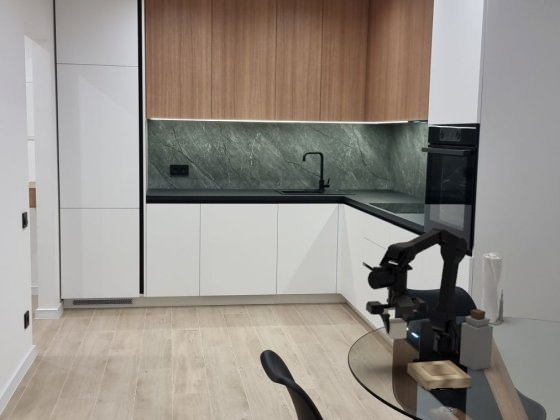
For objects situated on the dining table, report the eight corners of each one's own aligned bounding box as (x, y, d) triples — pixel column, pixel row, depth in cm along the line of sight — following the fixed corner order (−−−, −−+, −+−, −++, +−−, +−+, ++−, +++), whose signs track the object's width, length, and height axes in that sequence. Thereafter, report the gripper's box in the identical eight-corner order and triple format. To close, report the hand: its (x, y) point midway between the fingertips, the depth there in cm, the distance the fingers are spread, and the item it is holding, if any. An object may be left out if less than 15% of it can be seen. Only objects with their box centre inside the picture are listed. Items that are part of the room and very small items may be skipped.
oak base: (449, 369, 214) (449, 359, 213) (470, 387, 200) (470, 376, 200) (407, 372, 211) (407, 362, 211) (426, 390, 197) (426, 380, 197)
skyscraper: (497, 326, 258) (501, 254, 254) (476, 322, 262) (480, 251, 258) (503, 320, 265) (507, 250, 261) (482, 317, 269) (486, 248, 265)
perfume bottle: (474, 370, 213) (477, 315, 211) (459, 363, 219) (462, 309, 217) (490, 367, 217) (493, 312, 214) (475, 360, 222) (478, 306, 220)
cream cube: (400, 333, 218) (400, 318, 217) (406, 338, 213) (406, 322, 212) (385, 334, 217) (386, 318, 216) (391, 339, 212) (391, 323, 211)
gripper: (378, 293, 203) (376, 343, 205) (436, 290, 207) (434, 339, 209) (366, 283, 213) (364, 331, 216) (421, 281, 217) (419, 328, 220)
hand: (395, 332), depth 215 cm, fingers closed on cream cube, 5 cm apart
